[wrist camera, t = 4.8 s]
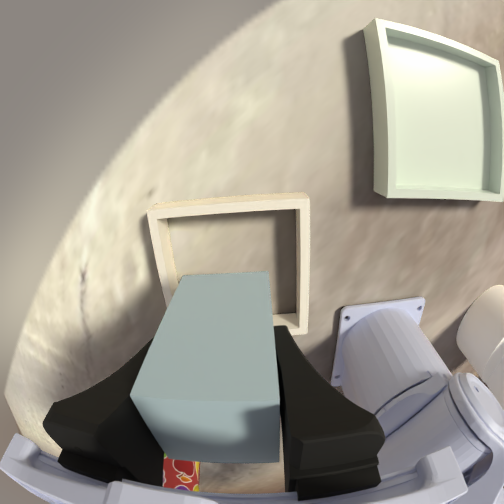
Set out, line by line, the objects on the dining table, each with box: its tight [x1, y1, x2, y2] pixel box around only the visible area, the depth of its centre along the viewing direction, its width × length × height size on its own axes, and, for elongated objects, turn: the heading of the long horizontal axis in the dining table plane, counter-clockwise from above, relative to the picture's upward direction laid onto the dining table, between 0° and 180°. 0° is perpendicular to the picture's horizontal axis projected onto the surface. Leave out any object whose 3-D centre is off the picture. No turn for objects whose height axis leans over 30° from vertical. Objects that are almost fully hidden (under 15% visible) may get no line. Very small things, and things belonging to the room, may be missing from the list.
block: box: [130, 271, 280, 463], centre depth 12 cm, size 4×4×8 cm
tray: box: [363, 18, 504, 202], centre depth 15 cm, size 12×12×2 cm
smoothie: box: [163, 452, 200, 492], centre depth 19 cm, size 8×8×20 cm
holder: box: [147, 192, 310, 335], centre depth 19 cm, size 10×10×2 cm
